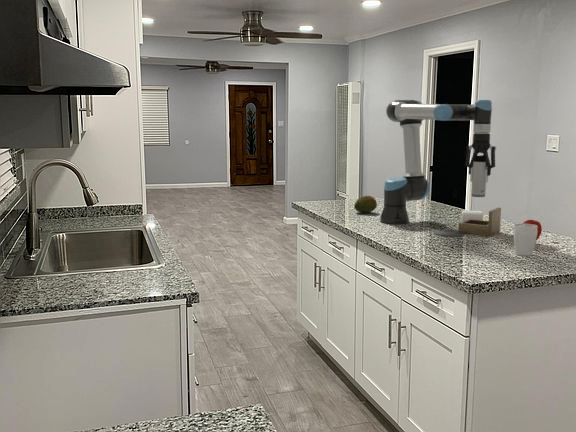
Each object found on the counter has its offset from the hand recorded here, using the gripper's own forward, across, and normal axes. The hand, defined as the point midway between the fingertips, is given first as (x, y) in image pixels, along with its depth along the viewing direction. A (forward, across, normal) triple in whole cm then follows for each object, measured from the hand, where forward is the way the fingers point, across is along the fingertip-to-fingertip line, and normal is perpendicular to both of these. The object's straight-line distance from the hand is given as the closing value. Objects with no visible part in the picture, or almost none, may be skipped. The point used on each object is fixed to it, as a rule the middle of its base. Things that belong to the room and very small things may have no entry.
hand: (479, 181), depth 276 cm
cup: (+25, +30, -34) cm, 52 cm away
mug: (+25, -8, +17) cm, 32 cm away
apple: (+25, +28, -11) cm, 39 cm away
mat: (+25, -10, -11) cm, 29 cm away
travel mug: (+7, 0, 0) cm, 7 cm away
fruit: (+25, -72, +22) cm, 80 cm away
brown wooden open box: (+25, +1, 0) cm, 25 cm away
